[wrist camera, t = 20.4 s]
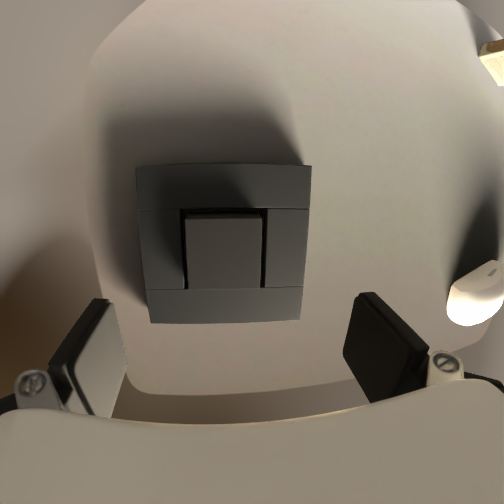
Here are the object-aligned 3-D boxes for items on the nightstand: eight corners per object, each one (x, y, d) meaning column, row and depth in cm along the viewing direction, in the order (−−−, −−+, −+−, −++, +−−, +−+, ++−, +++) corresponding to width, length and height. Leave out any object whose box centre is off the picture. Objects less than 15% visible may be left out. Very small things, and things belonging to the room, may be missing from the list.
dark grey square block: (192, 275, 27) (188, 290, 24) (189, 211, 25) (184, 219, 22) (255, 273, 28) (259, 288, 24) (256, 211, 26) (262, 218, 22)
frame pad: (154, 313, 28) (150, 323, 26) (141, 166, 23) (135, 166, 21) (295, 310, 29) (299, 319, 27) (305, 165, 25) (312, 165, 23)
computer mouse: (491, 288, 34) (514, 304, 28) (443, 320, 34) (467, 342, 28) (495, 255, 32) (521, 268, 26) (445, 285, 31) (474, 304, 26)
